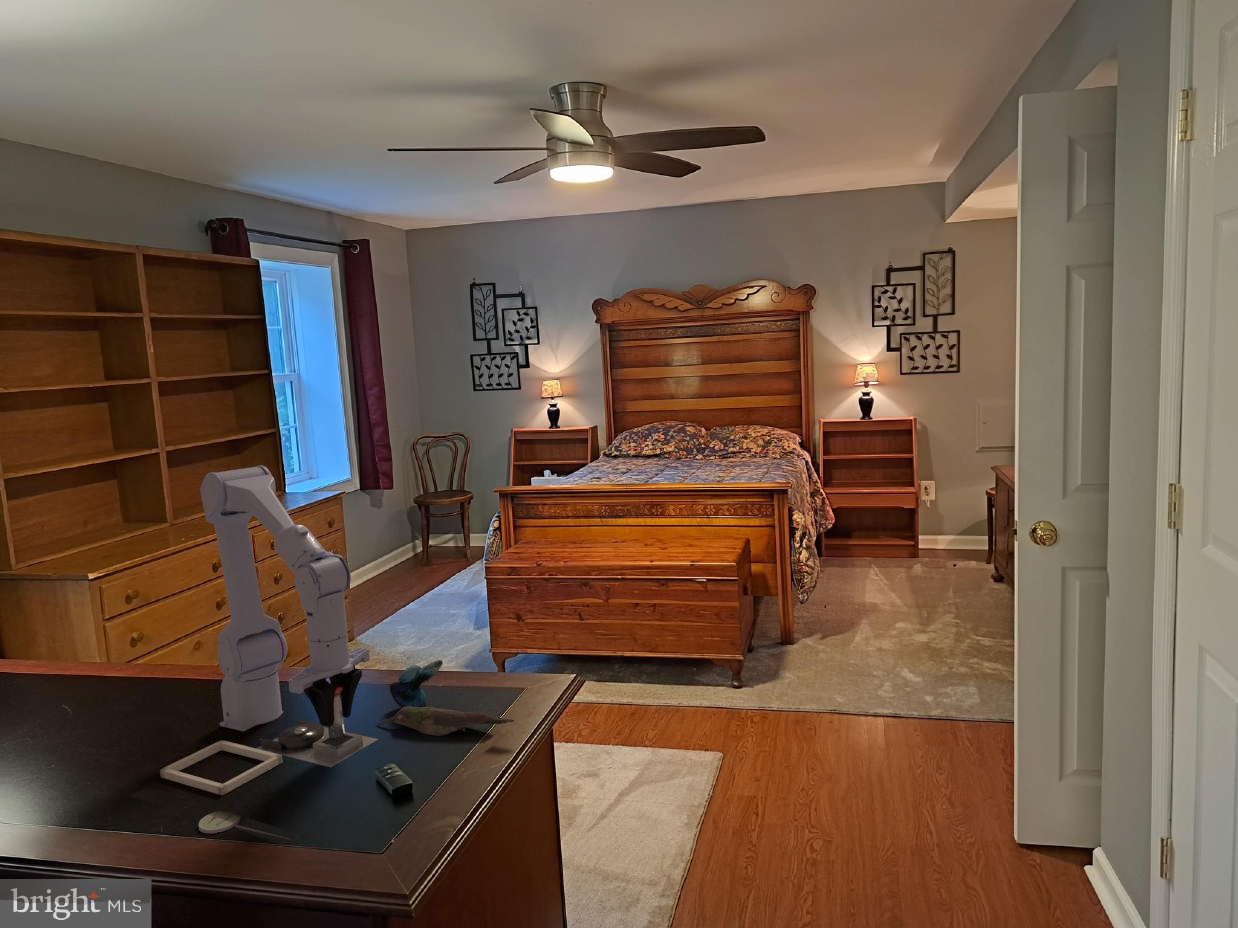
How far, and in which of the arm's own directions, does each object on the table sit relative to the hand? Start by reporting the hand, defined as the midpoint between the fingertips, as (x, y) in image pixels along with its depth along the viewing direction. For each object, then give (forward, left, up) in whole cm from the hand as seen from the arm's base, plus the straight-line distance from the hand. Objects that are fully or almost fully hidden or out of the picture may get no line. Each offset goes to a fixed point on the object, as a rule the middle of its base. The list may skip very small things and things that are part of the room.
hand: (335, 720), depth 135 cm
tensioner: (-4, 0, -6) cm, 7 cm away
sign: (+4, -21, -7) cm, 22 cm away
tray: (-11, -12, -6) cm, 18 cm away
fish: (+2, +17, -6) cm, 18 cm away
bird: (+11, +12, -6) cm, 17 cm away
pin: (0, 0, -2) cm, 2 cm away
